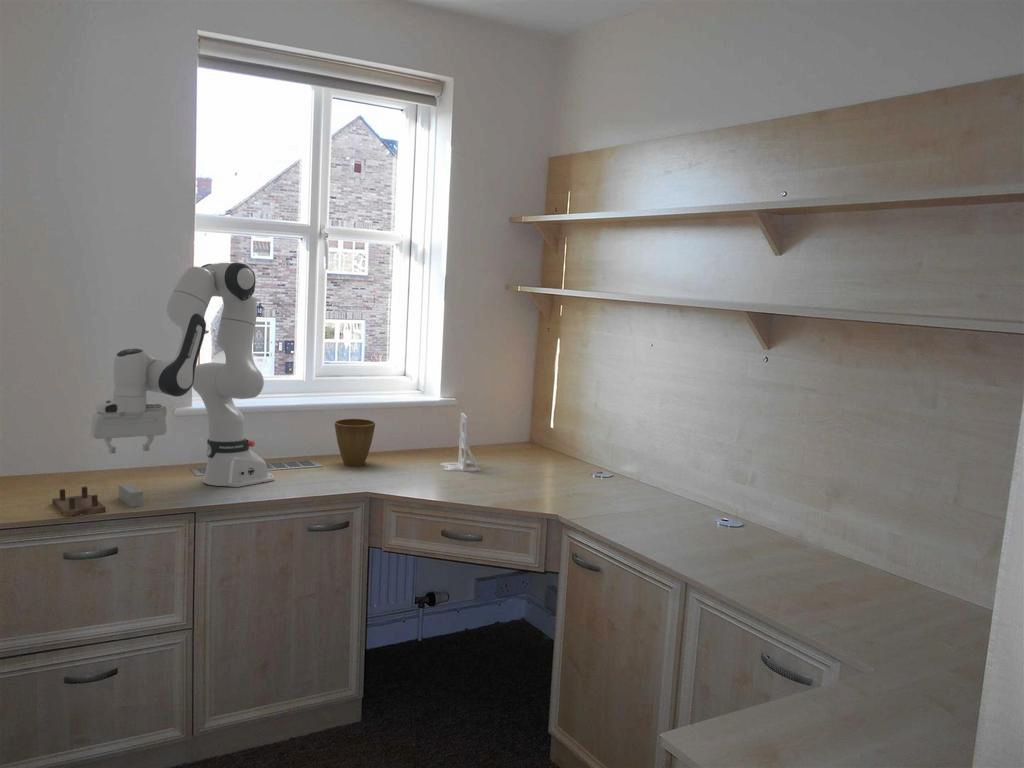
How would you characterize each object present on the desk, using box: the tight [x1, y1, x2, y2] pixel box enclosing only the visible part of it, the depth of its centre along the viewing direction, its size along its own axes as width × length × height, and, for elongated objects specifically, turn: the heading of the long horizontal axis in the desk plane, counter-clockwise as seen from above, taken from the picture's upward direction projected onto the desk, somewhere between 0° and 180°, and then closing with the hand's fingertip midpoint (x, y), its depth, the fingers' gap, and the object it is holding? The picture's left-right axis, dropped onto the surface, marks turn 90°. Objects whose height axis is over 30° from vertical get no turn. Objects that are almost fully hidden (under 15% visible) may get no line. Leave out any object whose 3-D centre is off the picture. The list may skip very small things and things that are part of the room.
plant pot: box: [334, 418, 376, 467], centre depth 311 cm, size 15×15×16 cm
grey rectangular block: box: [118, 482, 144, 508], centre depth 247 cm, size 3×12×4 cm, turn 40°
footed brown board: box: [51, 486, 106, 517], centre depth 238 cm, size 10×16×4 cm, turn 40°
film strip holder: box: [440, 412, 481, 473], centre depth 314 cm, size 14×14×20 cm
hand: (129, 451), depth 245 cm, fingers open, 8 cm apart
